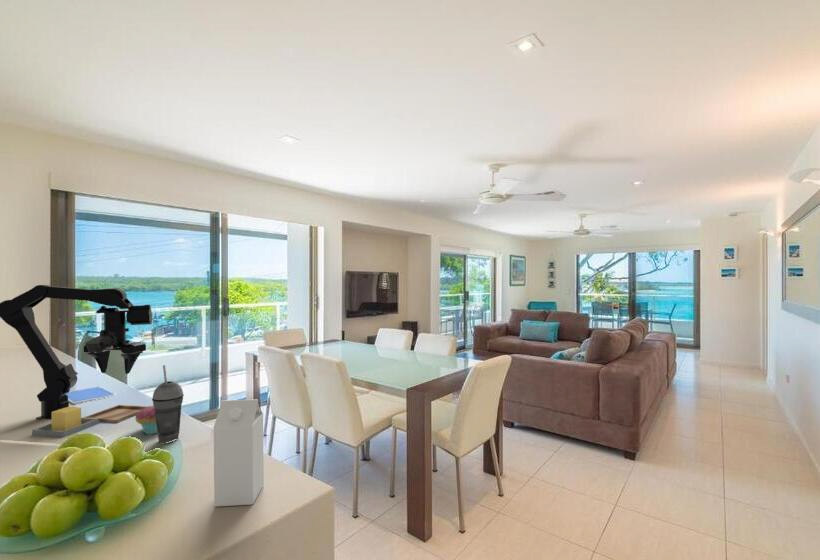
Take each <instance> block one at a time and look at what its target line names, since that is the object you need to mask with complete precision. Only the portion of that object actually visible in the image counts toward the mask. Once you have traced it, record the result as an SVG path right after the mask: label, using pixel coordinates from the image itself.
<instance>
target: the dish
mask: <svg viewBox="0 0 820 560" xmlns="http://www.w3.org/2000/svg"><path fill="white" fill-rule="evenodd" d="M99 424H100V422H99V419H97V418H83V417H81V425H79V426H76V427H73V428H71V429H68V430H65V431H57V430H52V422H51V423H49V424H48V423H47V424H45V425H43V426H42V425H41V426H39V427H36V428H34V429H32V431H31V436H41V437H51V438H52V437H53V438H65V437H68V436H71V435H73V434H75V433H78V432H81V431H83V430H86V429H89V428H91V427H94V426H96V425H99Z"/></svg>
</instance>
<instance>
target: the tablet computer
mask: <svg viewBox="0 0 820 560" xmlns="http://www.w3.org/2000/svg"><path fill="white" fill-rule="evenodd" d="M99 387H100V388H99ZM66 395H67V396H68V401H69V403H70V404H72V405H80V404H84V403H83V402H85V403H88V402H87V401H90V402H93V401H92V400H95V401H97V400H96V399H99V400H101V399H100V398H104V399H106V398H105V397H108V398H110V397H109V396H111V397H114V396H116V393H114V392H111V391H109V390H108V391H107V389H105V388H104V387H101V386H96V387H95V386H94V387H90V388H84V389H79V390H72V391H69V393H67V394H66ZM79 403H80V404H79Z"/></svg>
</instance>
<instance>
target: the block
mask: <svg viewBox="0 0 820 560" xmlns="http://www.w3.org/2000/svg"><path fill="white" fill-rule="evenodd" d="M81 418H82V407H81V406H80V407H79V406H69V407H66V408H62V409H59V410H56V411H53V412H52V419H51V423H52V430H57V431H65V430H68V429H71V428H73V427H76V426H79V425H81Z"/></svg>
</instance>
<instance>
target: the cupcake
mask: <svg viewBox="0 0 820 560" xmlns="http://www.w3.org/2000/svg"><path fill="white" fill-rule="evenodd" d="M149 406H150V407H146V408H144V409H142V410H141V411H140V412H139V413H138V414H137V415H136V416H134V417H135V422H136V423H138V424H140V425H141V427H142V430H143V432H144V434H145V435H155V434H158V433H157V424H156V415H155V408H154V405H149Z"/></svg>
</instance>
